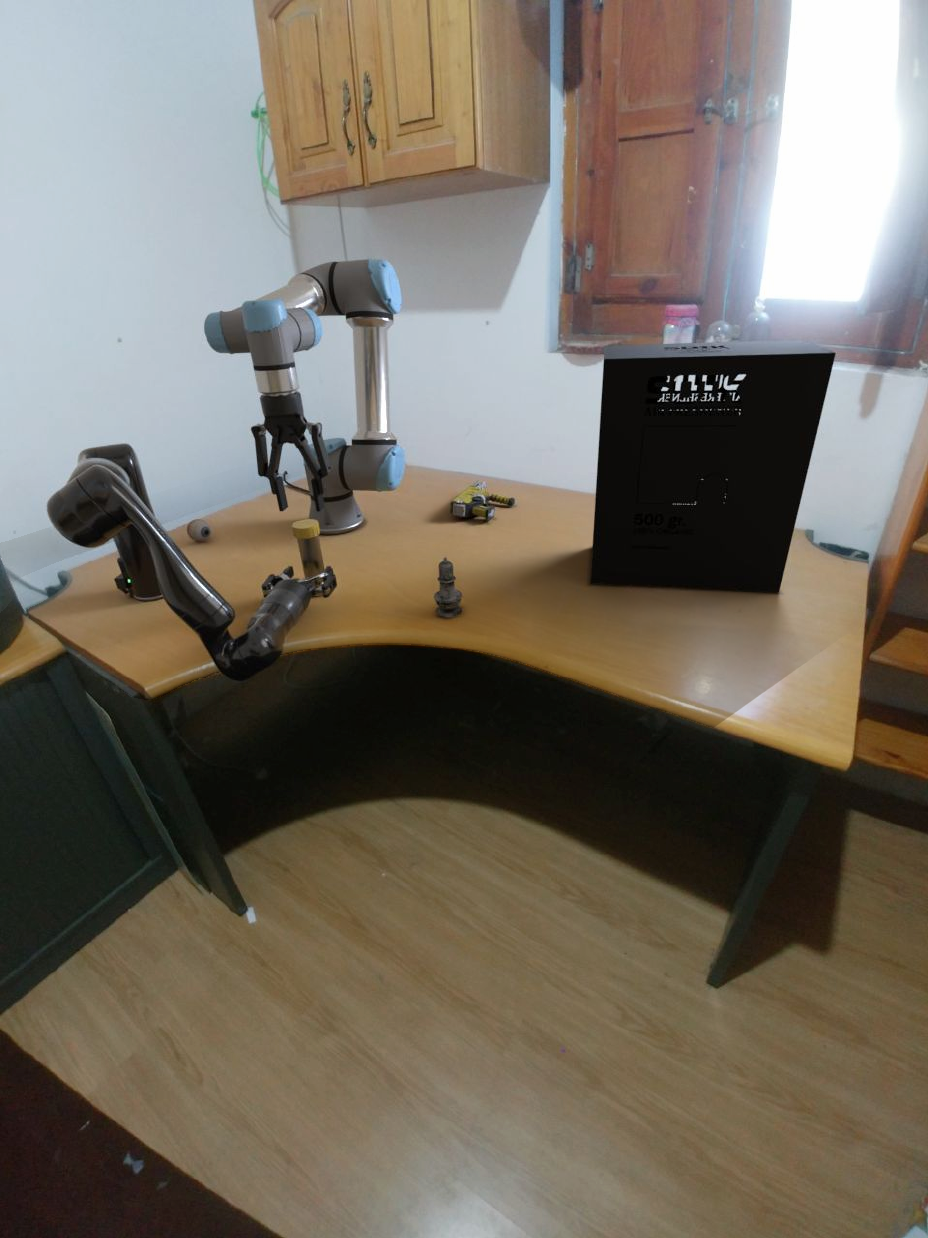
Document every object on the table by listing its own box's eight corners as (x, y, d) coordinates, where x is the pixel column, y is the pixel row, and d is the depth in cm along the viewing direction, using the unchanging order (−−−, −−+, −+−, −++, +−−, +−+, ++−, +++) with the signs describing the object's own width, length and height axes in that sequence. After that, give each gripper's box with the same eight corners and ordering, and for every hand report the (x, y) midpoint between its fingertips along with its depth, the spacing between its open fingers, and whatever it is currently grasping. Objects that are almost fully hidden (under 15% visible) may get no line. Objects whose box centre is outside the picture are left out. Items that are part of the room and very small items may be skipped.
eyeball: (200, 546, 160) (194, 525, 157) (185, 542, 163) (179, 521, 160) (219, 538, 165) (213, 517, 162) (204, 535, 168) (198, 514, 165)
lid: (293, 540, 124) (291, 529, 123) (294, 531, 129) (292, 520, 128) (320, 536, 125) (318, 526, 124) (319, 527, 130) (318, 517, 129)
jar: (308, 597, 132) (294, 530, 124) (308, 589, 136) (294, 523, 128) (328, 594, 132) (316, 527, 125) (328, 586, 136) (316, 520, 128)
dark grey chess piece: (460, 618, 120) (456, 564, 114) (431, 617, 121) (426, 562, 115) (465, 604, 125) (462, 551, 119) (438, 603, 126) (434, 550, 120)
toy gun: (523, 485, 181) (476, 478, 185) (501, 509, 161) (448, 500, 165) (521, 500, 184) (475, 493, 187) (499, 525, 163) (447, 517, 167)
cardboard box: (758, 552, 140) (802, 339, 117) (778, 592, 123) (835, 352, 100) (592, 546, 147) (604, 345, 125) (590, 583, 130) (603, 358, 108)
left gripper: (316, 589, 113) (340, 553, 127) (243, 589, 114) (275, 554, 128) (323, 623, 117) (345, 585, 131) (252, 623, 118) (282, 585, 132)
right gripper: (337, 387, 115) (354, 503, 126) (238, 390, 118) (264, 502, 129) (323, 394, 108) (343, 515, 120) (219, 397, 111) (248, 515, 123)
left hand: (310, 569), depth 129 cm, fingers open, 8 cm apart
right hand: (302, 508), depth 124 cm, fingers open, 7 cm apart
